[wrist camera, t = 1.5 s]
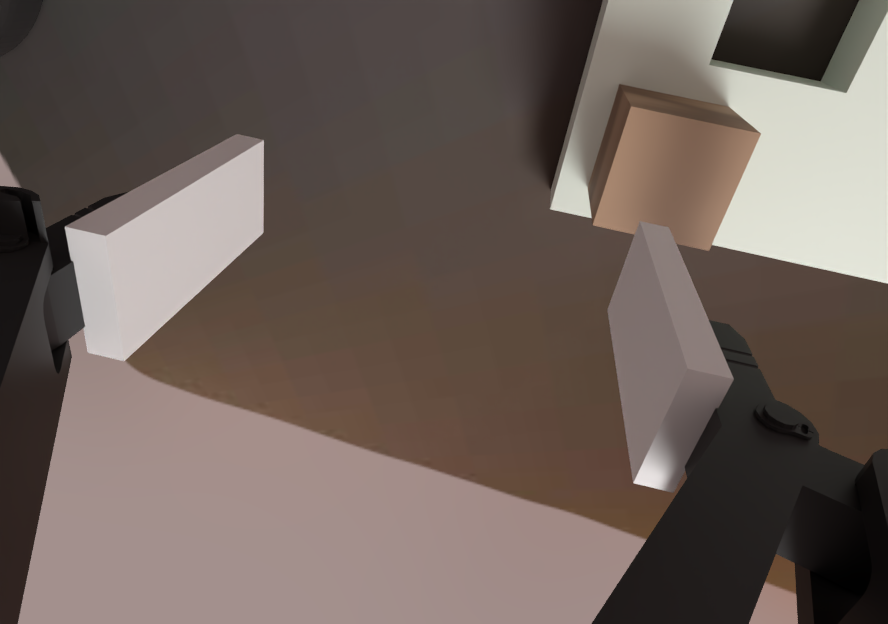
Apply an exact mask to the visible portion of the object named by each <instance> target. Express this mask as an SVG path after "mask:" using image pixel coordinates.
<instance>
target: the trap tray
mask: <svg viewBox="0 0 888 624" xmlns="http://www.w3.org/2000/svg"><path fill="white" fill-rule="evenodd" d="M732 3H733V0H603V2H602V5H601V9H600V13H599V16H598V20H597V24H596V27H595V31H594V34H593V38H592V42H591V45H590V49H589V53H588V56H587V60H586V64H585V67H584V71H583V75H582V78H581V82H580V85H579V89H578V93H577V96H576V100H575V104H574V107H573V111H572V115H571V118H570V122H569V125H568V129H567V133H566V136H565V140H564V144H563V147H562V151H561V155H560V158H559V162H558V166H557V169H556V173H555V176H554V180H553V184H552V187H551V199H550V209H552V210H557V211H561V212H566V213H570V214H575V215H579V216H584V217H588V218H592V217H591V209H590V202H589V195H588V184H589V181H590V178H591V175H592V172H593V168H594V165H595V162H596V159H597V155H598V152H599V149H600V146H601V142H602V139H603V136H604V133H605V129H606V126H607V123H608V120H609V116H610V113H611V110H612V107H613V103H614V100H615V97H616V94H617V90H618V87H619V84H622V85H627V86H632V87H636V88H641V89H646V90H651V91H656V92H660V93H665V94H670V95H675V96H680V97H685V98H689V99H694V100H699V101H704V102H709V103H713V104H718V105H723V106H728V107H730V108H731V109H732V110H733V111H735V112H736V113H737V114H738V115H739V116H741V117H742V118H743V119H744V120H745V121H747V122H748V123H749V124H750V125H751V126H753V127H754V128H755V129H756V130H757V131H759V132H760V133H761V135H760V137H759V140H758V142H757V144H756V146H755V149H754V151H753V153H752V155H751V158H750V160H749V162H748V164H747V167H746V169H745V171H744V173H743V176H742V178H741V180H740V182H739V185H738V187H737V189H736V191H735V194H734V196H733V198H732V200H731V203H730V205H729V207H728V209H727V212H726V214H725V216H724V218H723V220H722V223H721V225H720V227H719V229H718V232H717V234H716V236H715V238H714V241H713V243H712V245H716V246H720V247H725V248H729V249H734V250H738V251H743V252H747V253H752V254H756V255H761V256H766V257H770V258H775V259H779V260H784V261H788V262H793V263H797V264H802V265H806V266H811V267H816V268H820V269H825V270H829V271H834V272H838V273H843V274H847V275H852V276H856V277H861V278H865V279H870V280H875V281H879V282H884V283H888V0H859V2H858V4H857V6H856V8H855V10H854V12H853V14H852V16H851V18H850V21H849V23H848V25H847V27H846V29H845V31H844V33H843V35H842V37H841V39H840V42H839V44H838V46H837V48H836V50H835V52H834V54H833V56H832V58H831V60H830V63H829V65H828V67H827V69H826V71H825V73H824V75H823V77H822V79H821V81H816V80H811V79H806V78H801V77H796V76H791V75H786V74H781V73H777V72H772V71H767V70H762V69H757V68H752V67H747V66H742V65H737V64H732V63H727V62H723V61H718V60H713V59H711V58H712V56H713V53H714V50H715V48H716V45H717V42H718V40H719V37H720V34H721V32H722V29H723V26H724V24H725V21H726V19H727V16H728V13H729V11H730V8H731V5H732Z"/></svg>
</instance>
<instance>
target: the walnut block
mask: <svg viewBox="0 0 888 624" xmlns="http://www.w3.org/2000/svg"><path fill="white" fill-rule="evenodd" d="M760 135H761V133H760V132H759V131H757V130H756V129H755V128H754V127H753V126H751V125H750V124H749V123H748V122H747V121H745V120H744V119H743V118H742V117H741V116H739V115H738V114H737V113H736V112H735V111H733V110H732V109H731V108H730V107H728V106H723V105H718V104H713V103H709V102H704V101H699V100H694V99H689V98H685V97H680V96H675V95H670V94H665V93H660V92H656V91H651V90H646V89H641V88H636V87H632V86H627V85H622V84H619V87H618V90H617V94H616V97H615V100H614V103H613V107H612V110H611V113H610V116H609V120H608V123H607V126H606V129H605V133H604V136H603V139H602V142H601V146H600V149H599V152H598V155H597V159H596V162H595V165H594V168H593V172H592V175H591V178H590V181H589V184H588V195H589V202H590V209H591V217H592V224H593V225H594V226H599V227H603V228H608V229H612V230H617V231H622V232H626V233H631V234H635V233H636V230H637V228H638V225H639V222H640V221H642V222H646V223H651V224H655V225H660V226H665V227H669V229H670V231H671V233H672V236H673V238H674V240H675V243H676V244H680V245H685V246H689V247H694V248H699V249H703V250H708V251H709V250H710V247H711V245H712V243H713V241H714V238H715V236H716V234H717V232H718V229H719V227H720V225H721V223H722V220H723V218H724V216H725V214H726V212H727V209H728V207H729V205H730V203H731V200H732V198H733V196H734V194H735V191H736V189H737V187H738V185H739V182H740V180H741V178H742V176H743V173H744V171H745V169H746V167H747V164H748V162H749V160H750V158H751V155H752V153H753V151H754V149H755V146H756V144H757V142H758V140H759V137H760Z"/></svg>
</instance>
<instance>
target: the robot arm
mask: <svg viewBox="0 0 888 624" xmlns="http://www.w3.org/2000/svg"><path fill="white" fill-rule="evenodd" d="M42 2H43V0H0V56H2V55H4V54H6V53H7V52H9V51H11V50H12V49H13V48H15V47H16V46H17V45H18V44H19V43H20V42H21V41H22V40H23V39H24V38H25V37H26V36H27V34H28V33H29V31H30V30H31V28H32V27H33V25H34V23H35V21H36V19H37V16H38V14H39V11H40V8H41V5H42ZM263 207H264V140H261V139H257V138H252V137H248V136H243V135H238V134H236V135H234V136H232V137H231V138H229V139H227V140H225V141H223V142H221V143H219V144H218V145H216V146H214V147H212V148H210V149H208V150H206V151H204V152H203V153H201V154H199V155H197V156H195V157H193V158H191V159H190V160H188V161H186V162H184V163H182V164H180V165H178V166H177V167H175V168H173V169H171V170H169V171H167V172H165V173H164V174H162V175H160V176H158V177H156V178H154V179H152V180H151V181H149V182H147V183H145V184H143V185H141V186H139V187H137V188H136V189H134V190H132V191H130V192H126V193H122V194H118V195H114V196H110V197H106V198H103V199H101V200H99V201H97V202H96V203H94V204H92V205H90V206H88V208H84V209H82V210H80V211H78V212H76V213H75V215H71V216H69V217H67V218H65V219H63V220H61V221H59V222H57V223H55V224H53V225H51V226H49V227H48V228H46V227H45V222H44V218H43V213H42V208H41V203H40V198H39V195H37V194H36V193H34V192H33V191H31V190H27V189H23V188H18V187H6V186H0V624H18V619H19V614H20V609H21V604H22V599H23V594H24V589H25V584H26V579H27V575H28V570H29V565H30V560H31V555H32V550H33V545H34V540H35V535H36V530H37V525H38V520H39V516H40V510H41V505H42V501H43V496H44V490H45V486H46V481H47V476H48V471H49V466H50V461H51V456H52V451H53V446H54V442H55V437H56V432H57V427H58V422H59V417H60V412H61V407H62V402H63V397H64V392H65V387H66V382H67V378H68V373H69V368H70V363H71V358H72V356H71V351H70V346H69V341H68V339H69V338H71V337H72V336H73V335H75V334H76V333H77V332H78V331H80V330H81V329H82V328H83V329H84V334H85V340H86V345H87V350H88V353H92V354H96V355H100V356H104V357H109V358H113V359H117V360H121V361H125V360H126V359H127V358H128V357H129V356H130V355H131V354H133V353H134V352H135V351H136V350H137V349H138V348H139V347H140V346H141V345H142V344H143V343H144V342H146V341H147V340H148V339H149V338H150V337H151V336H152V335H153V334H154V333H155V332H156V331H157V330H159V329H160V328H161V327H162V326H163V325H164V324H165V323H166V322H167V321H168V320H169V319H170V318H172V317H173V316H174V315H175V314H176V313H177V312H178V311H179V310H180V309H181V308H182V307H183V306H185V305H186V304H187V303H188V302H189V301H190V300H191V299H192V298H193V297H194V296H195V295H196V294H198V293H199V292H200V291H201V290H202V289H203V288H204V287H205V286H206V285H207V284H208V283H209V282H211V281H212V280H213V279H214V278H215V277H216V276H217V275H218V274H219V273H220V272H221V271H222V270H224V269H225V268H226V267H227V266H228V265H229V264H230V263H231V262H232V261H233V260H234V259H235V258H237V257H238V256H239V255H240V254H241V253H242V252H243V251H244V250H245V249H246V248H247V247H248V246H250V245H251V244H252V243H253V242H254V241H255V240H256V239H257V238H258V237H259V236H260V235H261V234H263ZM608 317H609V323H610V330H611V337H612V343H613V350H614V357H615V364H616V370H617V377H618V384H619V390H620V397H621V404H622V411H623V417H624V424H625V431H626V437H627V444H628V451H629V458H630V464H631V471H632V478H633V483H635V484H639V485H644V486H648V487H652V488H656V489H660V490H664V491H669V492H674V490H675V489H676V487H677V485H678V483H679V481H680V479H681V477H682V475H683V474H684V472H685V471H686V475H687V480H686V481H685V483H684V484H683V486H682V487H681V489H680V490H679V492H678V493H677V495H676V496H675V498H674V499H673V501H672V502H671V504H670V506H669V507H668V509H667V510H666V512H665V513H664V515H663V516H662V518H661V519H660V521H659V522H658V524H657V525H656V527H655V528H654V530H653V531H652V533H651V534H650V536H649V537H648V539H647V540H646V542H645V544H644V545H643V547H642V548H641V550H640V551H639V553H638V554H637V556H636V557H635V559H634V560H633V562H632V563H631V565H630V566H629V568H628V569H627V571H626V572H625V574H624V575H623V577H622V578H621V580H620V581H619V583H618V584H617V586H616V588H615V589H614V590H613V592H612V594H611V595H610V597H609V598H608V600H607V601H606V603H605V604H604V606H603V607H602V609H601V610H600V612H599V613H598V615H597V616H596V618H595V619H594V621H593V622H592V624H749V621H750V619H751V616H752V614H753V611H754V608H755V606H756V603H757V601H758V598H759V595H760V593H761V590H762V588H763V585H764V583H765V580H766V578H767V575H768V572H769V570H770V567H771V565H772V562H773V560H774V557H775V554H778V555H780V556H782V557H784V558H786V559H788V560H790V561H792V562H794V563H795V575H796V594H797V613H798V624H888V449H880V450H878V451H877V452H875V453H873V455H872V456H871V457H870V459H869V460H868V461H867V463H866V464H865V465H863V464H861V463H858V462H856V461H853V460H851V459H849V458H846V457H844V456H842V455H839V454H837V453H835V452H832V451H830V450H828V449H826V448H824V447H822V446H820V445H818V444H819V433H818V432H817V430H816V429H815V427H814V426H813V424H812V423H811V422H810V421H809V420H808V419H807V418H806V417H805V416H803V415H802V414H801V413H800V412H798V411H797V410H795V409H793V408H792V407H790V406H788V405H787V404H784V403H782V402H779V401H777V400H775V398H774V396H773V394H772V392H771V390H770V388H769V386H768V384H767V382H766V380H765V378H764V376H763V374H762V372H761V370H760V369H758V365H757V363H756V361H755V359H754V357H752V353H751V351H750V349H749V347H748V345H747V343H746V341H745V339H744V338H743V337H742V336H741V335H740V334H738V333H737V332H736V331H735V330H734V329H733V328H732V327H731V326H730V325H728V324H724V323H719V322H715V321H710V320H708V317H707V315H706V313H705V310H704V308H703V306H702V303H701V301H700V299H699V296H698V294H697V292H696V289H695V287H694V285H693V282H692V280H691V278H690V275H689V273H688V271H687V268H686V266H685V264H684V261H683V259H682V257H681V254H680V252H679V250H678V247H677V245H676V243H675V240H674V238H673V236H672V233H671V231H670V229H669V227H665V226H660V225H655V224H651V223H646V222H642V221H640V222H639V225H638V228H637V230H636V233H635V236H634V239H633V241H632V244H631V247H630V250H629V252H628V255H627V258H626V261H625V263H624V266H623V269H622V272H621V274H620V277H619V280H618V282H617V285H616V288H615V291H614V293H613V296H612V299H611V302H610V304H609V307H608Z"/></svg>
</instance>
